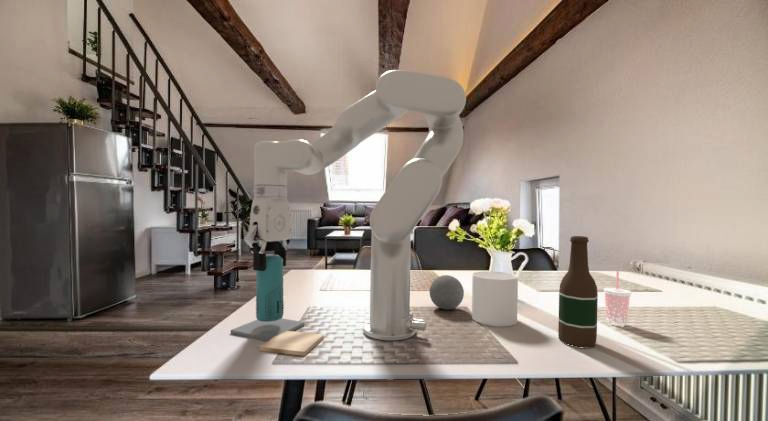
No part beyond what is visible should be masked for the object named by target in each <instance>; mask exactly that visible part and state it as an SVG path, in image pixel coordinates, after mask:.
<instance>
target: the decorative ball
mask: <svg viewBox="0 0 768 421" xmlns="http://www.w3.org/2000/svg"><path fill="white" fill-rule="evenodd" d="M464 295H465V291H464V287H463V285H462V283H461V281H459V279H458V278H456V277H455V276H454V275H453V276H452V275H449V274H445V275H443V274H442V275H440V276H438V277H436V278H435V279H434V280H433V281H432V282H431V285H430V287H429V298H430V299H431V301H432V303H433V304H434V305H435V306H436V307H437V308H439V309H441V310H445V311H448V310H454V309H456V308H457V307H459V306H460V304H462V301H463V299H464V297H465V296H464Z"/></svg>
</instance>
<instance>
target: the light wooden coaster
mask: <svg viewBox="0 0 768 421" xmlns="http://www.w3.org/2000/svg"><path fill="white" fill-rule="evenodd" d="M324 338H325V334H323V333H322V334H321V333H313V332H305V331H304V332H303V331H295V330H294V331H285V332H283V333H281V334H278V335H276V336H275V337H273V338H272V339H270V340H269V341H265V343H263V344H261V345H259V351H260V352H268V353H277V354H286V355H295V356H303V357H304V356H307V354H308V353H309V352H311V350H313V348H315V347H316V346H317V345H318V344H319V343H320V342H321V341H322V340H324Z"/></svg>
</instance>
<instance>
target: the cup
mask: <svg viewBox="0 0 768 421" xmlns="http://www.w3.org/2000/svg"><path fill="white" fill-rule="evenodd" d="M471 280H472V281H471V282H472V283H471V284H472V285H471V286H472V287H471V289H472V290H471V295H472V296H471V318H472V320H473V321H474V320H475V322H476V323H478V322H479V324H481V325H485V326H491V327H498V328H499V327H512V326H515V325H516V324H517V323H518V300H519V299H518V298H519V296H518V294H519V293H518V292H519V291H518V288H519V286H518V285H519V278H518V276H517V275H516V274H512V273H507V272H503V271H502V272H501V271H500V272H499V271H477V272H473V273H472V278H471Z"/></svg>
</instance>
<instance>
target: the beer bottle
mask: <svg viewBox="0 0 768 421" xmlns="http://www.w3.org/2000/svg"><path fill="white" fill-rule="evenodd" d="M569 241H570V242H571V244H570V252H569V253H570V254H569V255H570V256H569V265H568V270H567V272H566V273H565V274H564V276H563V277H562V279H561V281H560V284H559V290H558V340H559V339H560V340H561V341H563V342H564V343H563V342H562V343H563V344H565V343H566V344H569V345H573V346H577V347H593V348H594V347H595V345H596V344H595V343H597V337H598V300H599V298H598V296H599V295H598V286H597V284H596V280H595V279H594V277H593V275H592V274H591V273H590V269H589V268H590V266H589V256H588V255H589V253H588V251H589V250H588V243H590V242H589V241H590V240H589V237H587V236H582V235H572V236H570V240H569ZM560 340H559V341H560ZM561 341H560V342H561ZM566 344H565V345H566ZM569 345H568V346H569ZM573 346H572V347H573ZM577 347H576V348H577Z"/></svg>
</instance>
